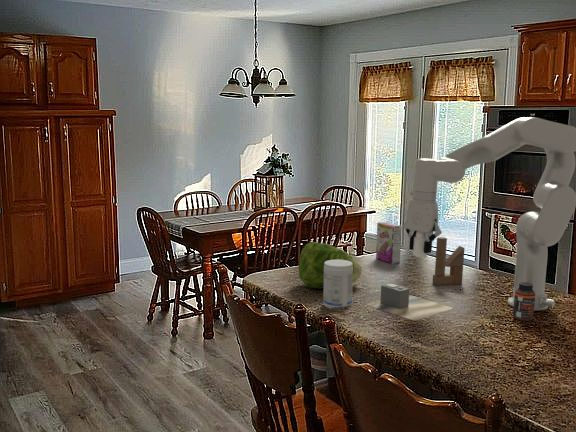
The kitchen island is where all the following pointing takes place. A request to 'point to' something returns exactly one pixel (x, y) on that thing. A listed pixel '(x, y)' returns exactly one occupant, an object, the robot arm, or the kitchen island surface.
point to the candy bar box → (388, 242)
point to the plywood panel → (414, 308)
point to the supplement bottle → (524, 302)
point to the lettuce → (321, 263)
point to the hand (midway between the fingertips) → (420, 250)
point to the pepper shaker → (419, 245)
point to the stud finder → (394, 296)
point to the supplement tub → (338, 283)
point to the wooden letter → (448, 264)
